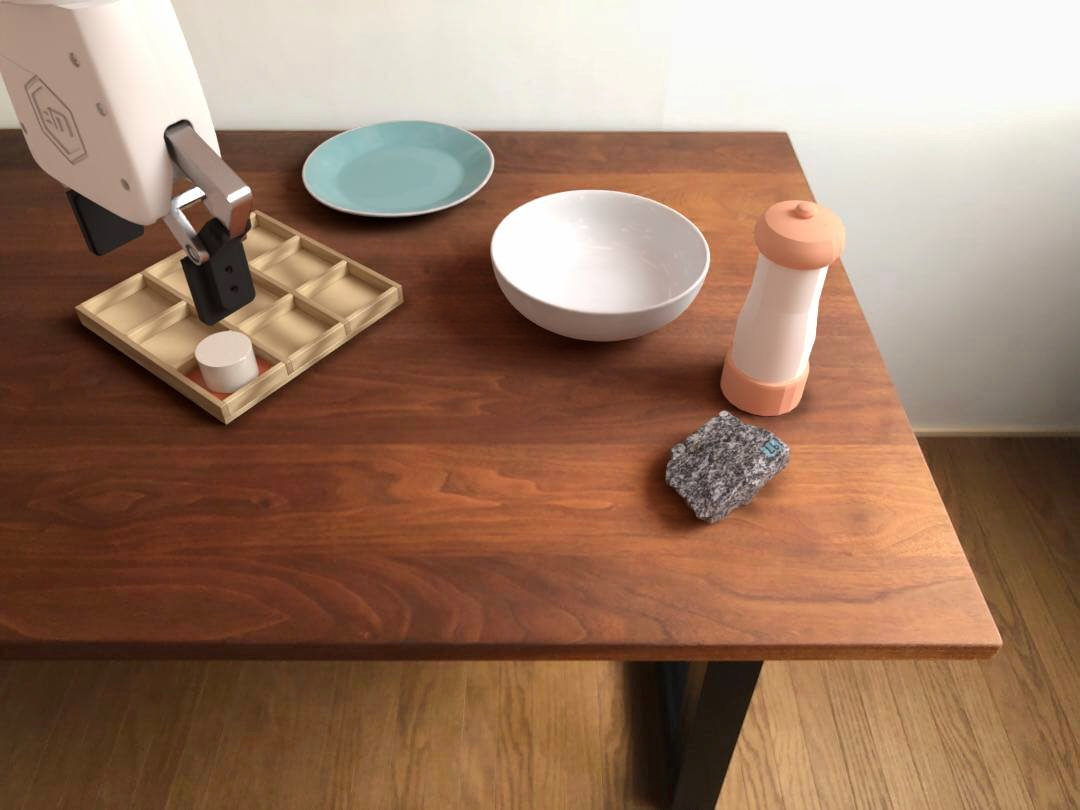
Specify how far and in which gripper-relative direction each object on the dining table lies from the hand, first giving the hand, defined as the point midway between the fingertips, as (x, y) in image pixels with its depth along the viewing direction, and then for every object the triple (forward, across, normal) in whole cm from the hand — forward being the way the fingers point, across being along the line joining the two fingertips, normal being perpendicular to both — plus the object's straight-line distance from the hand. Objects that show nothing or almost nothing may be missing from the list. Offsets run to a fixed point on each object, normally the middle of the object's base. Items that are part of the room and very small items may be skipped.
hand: (171, 276), depth 49 cm
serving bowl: (+26, +1, +41) cm, 49 cm away
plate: (+26, -30, +45) cm, 60 cm away
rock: (+26, +23, +28) cm, 45 cm away
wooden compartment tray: (+26, -25, +18) cm, 40 cm away
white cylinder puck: (+25, -18, +11) cm, 33 cm away
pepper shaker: (+26, +20, +40) cm, 52 cm away
